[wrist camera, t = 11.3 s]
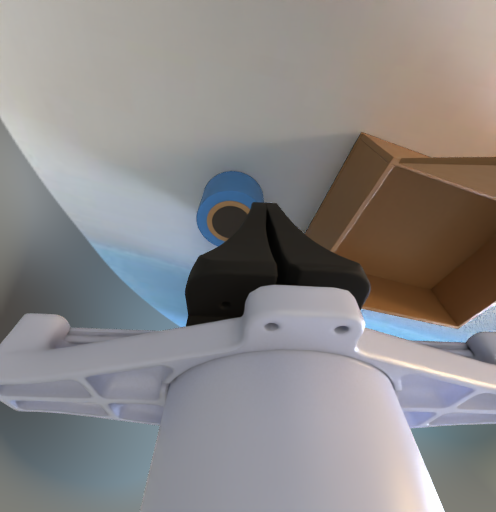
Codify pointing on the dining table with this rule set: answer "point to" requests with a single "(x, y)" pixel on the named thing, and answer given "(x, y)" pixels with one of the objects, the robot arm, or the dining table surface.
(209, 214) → the tape roll
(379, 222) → the carton
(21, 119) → the dining table surface
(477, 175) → the flap
